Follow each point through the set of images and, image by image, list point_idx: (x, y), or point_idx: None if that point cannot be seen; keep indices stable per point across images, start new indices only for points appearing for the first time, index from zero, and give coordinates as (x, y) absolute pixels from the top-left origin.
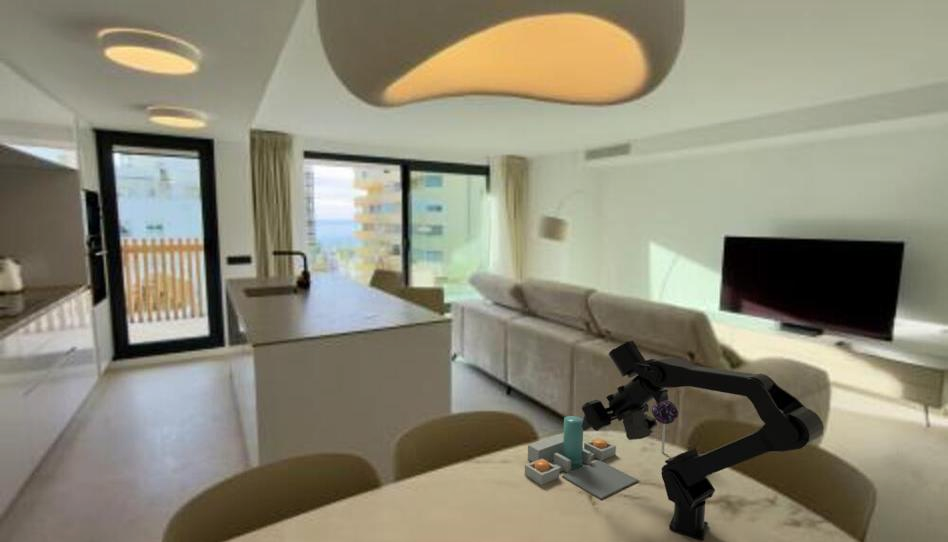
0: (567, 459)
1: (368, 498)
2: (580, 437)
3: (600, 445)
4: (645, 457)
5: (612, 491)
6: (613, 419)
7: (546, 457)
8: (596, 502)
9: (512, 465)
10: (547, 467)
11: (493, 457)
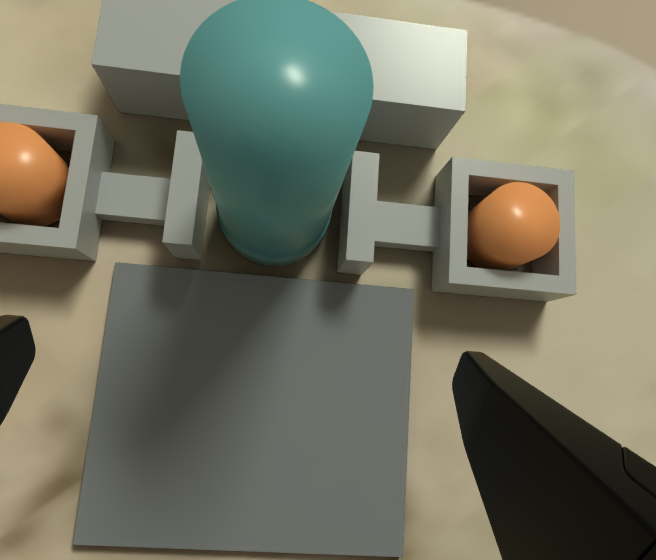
0: (181, 225)
1: None
2: (267, 215)
3: (490, 245)
4: (653, 422)
5: (182, 542)
6: (471, 465)
7: (176, 105)
8: (33, 543)
9: (15, 28)
10: (1, 209)
11: None
